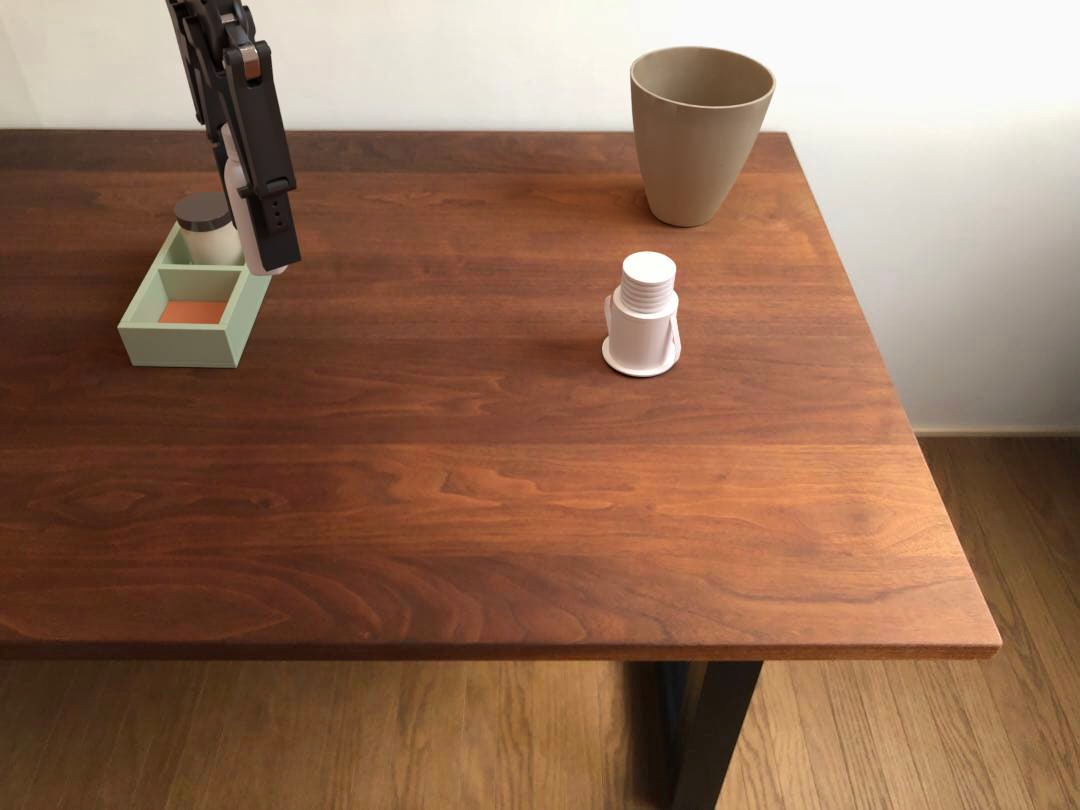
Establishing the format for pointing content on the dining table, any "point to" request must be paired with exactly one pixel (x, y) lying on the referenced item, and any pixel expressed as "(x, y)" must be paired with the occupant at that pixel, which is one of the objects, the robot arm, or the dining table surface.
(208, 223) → the spice jar
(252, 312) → the green divided tray
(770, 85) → the plant pot
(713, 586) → the dining table surface
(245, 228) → the eye dropper bottle
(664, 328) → the downlight
